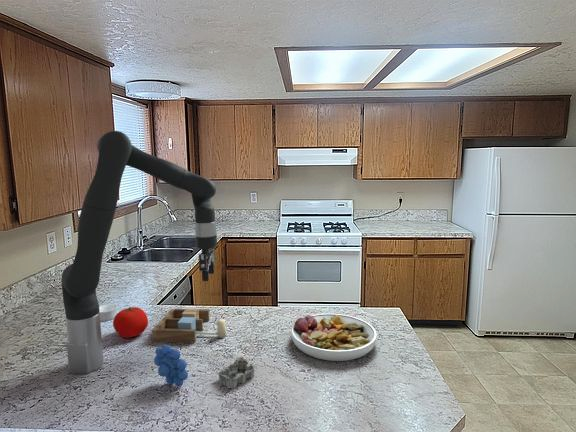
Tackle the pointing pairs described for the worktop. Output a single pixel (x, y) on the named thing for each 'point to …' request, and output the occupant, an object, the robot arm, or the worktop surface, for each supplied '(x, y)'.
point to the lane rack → (169, 327)
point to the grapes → (171, 365)
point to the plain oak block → (191, 313)
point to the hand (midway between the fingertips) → (208, 277)
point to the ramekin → (107, 312)
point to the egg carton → (232, 371)
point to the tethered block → (191, 324)
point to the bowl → (333, 336)
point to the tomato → (130, 322)
